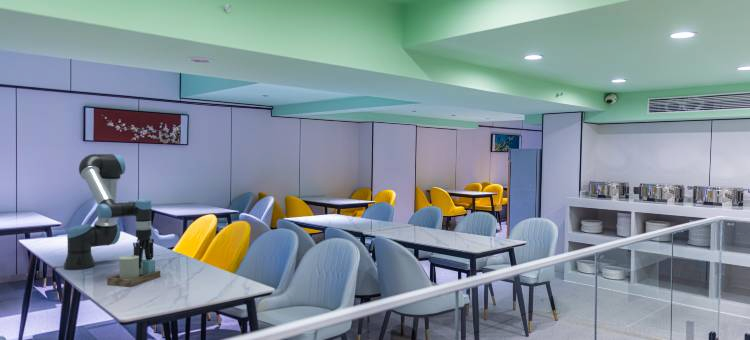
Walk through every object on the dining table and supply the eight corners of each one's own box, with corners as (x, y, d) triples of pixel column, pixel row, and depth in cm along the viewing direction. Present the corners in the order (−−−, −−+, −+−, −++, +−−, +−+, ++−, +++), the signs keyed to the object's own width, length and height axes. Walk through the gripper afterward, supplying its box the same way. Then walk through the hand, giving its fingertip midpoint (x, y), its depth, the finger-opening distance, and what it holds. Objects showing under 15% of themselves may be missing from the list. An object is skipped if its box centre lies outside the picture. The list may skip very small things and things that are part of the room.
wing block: (132, 274, 274) (132, 260, 274) (139, 272, 279) (138, 259, 279) (148, 275, 272) (148, 262, 272) (155, 273, 277) (155, 260, 276)
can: (143, 278, 268) (143, 255, 268) (129, 283, 260) (129, 259, 259) (129, 276, 271) (128, 253, 271) (115, 281, 263) (114, 257, 262)
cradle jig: (107, 284, 260) (107, 278, 260) (137, 274, 282) (137, 268, 282) (131, 286, 257) (131, 280, 257) (160, 276, 278) (160, 270, 278)
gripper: (138, 231, 265) (138, 277, 266) (160, 226, 283) (161, 269, 283) (125, 231, 267) (125, 276, 268) (148, 226, 284) (149, 269, 285)
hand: (143, 273), depth 276 cm, fingers closed on wing block, 5 cm apart
